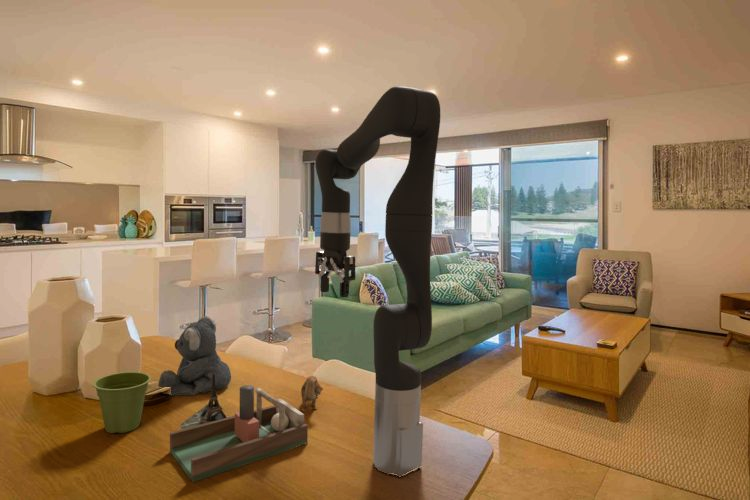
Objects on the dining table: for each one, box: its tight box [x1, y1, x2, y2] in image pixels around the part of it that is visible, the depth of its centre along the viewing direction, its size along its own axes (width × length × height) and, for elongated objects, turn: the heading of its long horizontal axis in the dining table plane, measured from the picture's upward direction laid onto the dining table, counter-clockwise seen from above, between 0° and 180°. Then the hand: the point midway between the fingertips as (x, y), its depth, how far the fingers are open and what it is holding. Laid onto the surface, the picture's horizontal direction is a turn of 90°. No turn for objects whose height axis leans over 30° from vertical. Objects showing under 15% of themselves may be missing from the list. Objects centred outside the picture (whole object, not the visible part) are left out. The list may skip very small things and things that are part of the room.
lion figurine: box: [300, 375, 324, 412], centre depth 127 cm, size 15×5×9 cm, turn 12°
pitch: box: [169, 387, 309, 483], centre depth 103 cm, size 14×25×10 cm, turn 130°
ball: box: [271, 413, 289, 431], centre depth 109 cm, size 4×4×4 cm
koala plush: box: [157, 315, 232, 397], centre depth 137 cm, size 17×18×20 cm
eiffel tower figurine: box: [178, 370, 227, 430], centre depth 118 cm, size 15×10×13 cm
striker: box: [234, 384, 259, 443], centre depth 104 cm, size 7×3×12 cm, turn 40°
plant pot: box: [92, 371, 152, 434], centre depth 111 cm, size 12×12×11 cm
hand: (334, 294), depth 122 cm, fingers open, 8 cm apart
